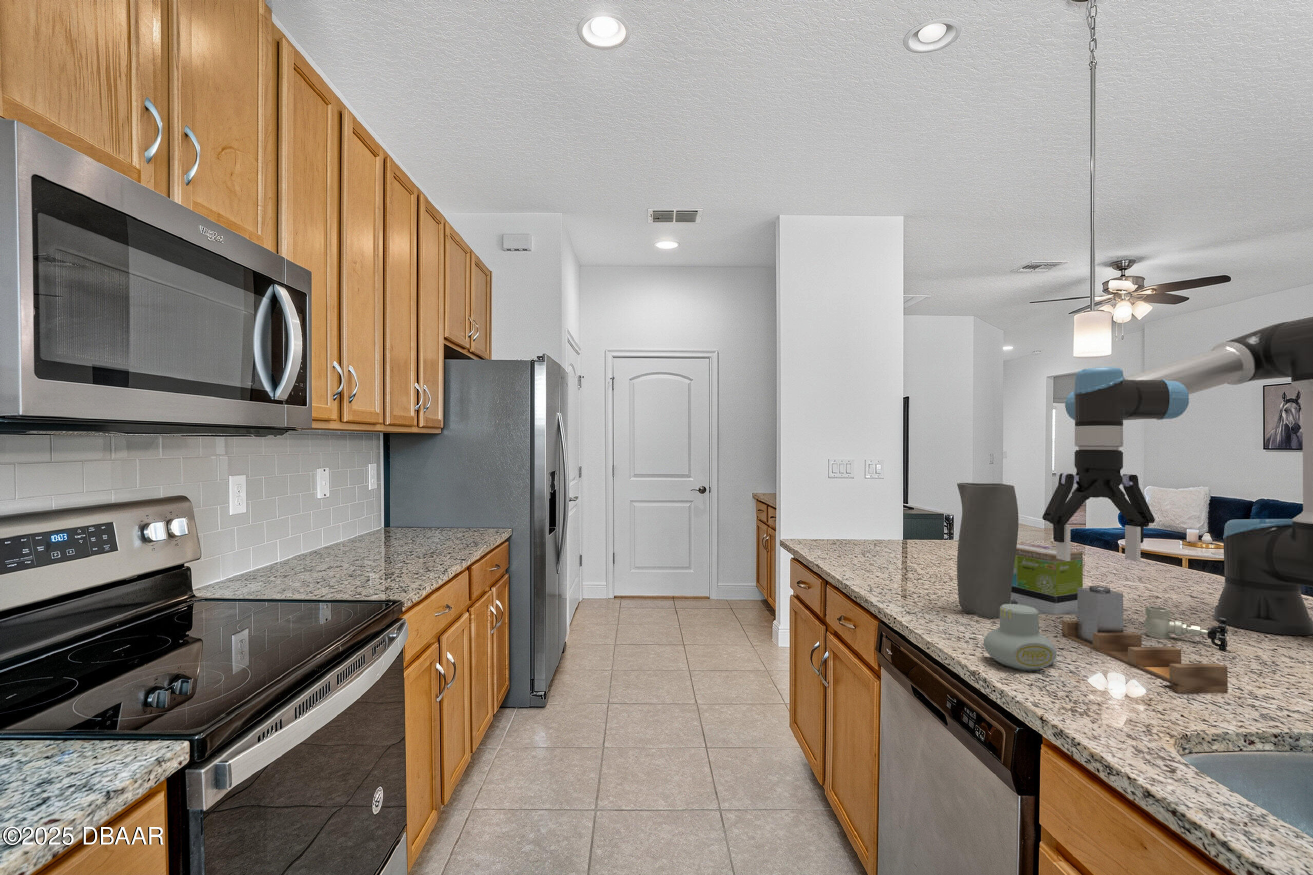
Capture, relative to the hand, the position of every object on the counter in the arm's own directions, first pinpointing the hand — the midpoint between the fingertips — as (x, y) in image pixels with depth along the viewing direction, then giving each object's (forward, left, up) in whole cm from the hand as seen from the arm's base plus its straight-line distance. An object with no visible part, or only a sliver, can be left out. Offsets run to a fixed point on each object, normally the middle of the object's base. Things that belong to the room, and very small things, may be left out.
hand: (1098, 560), depth 115 cm
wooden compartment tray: (0, +8, -17) cm, 19 cm away
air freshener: (+21, +8, -17) cm, 28 cm away
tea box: (-7, -28, -17) cm, 34 cm away
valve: (-18, -1, -17) cm, 25 cm away
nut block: (0, 0, -16) cm, 16 cm away
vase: (+9, -22, -17) cm, 29 cm away
